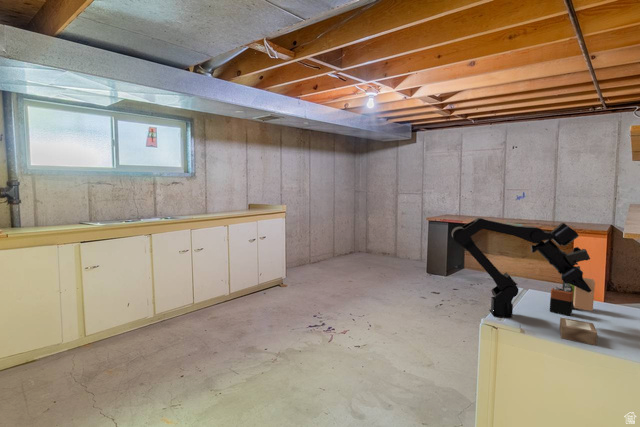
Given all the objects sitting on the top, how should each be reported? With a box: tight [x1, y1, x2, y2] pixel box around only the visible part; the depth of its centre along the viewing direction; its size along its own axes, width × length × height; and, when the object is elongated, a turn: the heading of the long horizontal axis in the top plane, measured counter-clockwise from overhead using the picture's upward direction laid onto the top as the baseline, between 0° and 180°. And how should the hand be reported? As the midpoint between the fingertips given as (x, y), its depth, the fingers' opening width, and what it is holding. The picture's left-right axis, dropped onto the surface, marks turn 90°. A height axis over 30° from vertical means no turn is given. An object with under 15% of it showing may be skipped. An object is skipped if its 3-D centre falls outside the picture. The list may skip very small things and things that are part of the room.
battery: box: [549, 286, 574, 317], centre depth 135 cm, size 4×7×10 cm, turn 47°
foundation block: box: [559, 317, 598, 346], centre depth 114 cm, size 9×9×4 cm
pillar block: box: [573, 277, 596, 311], centre depth 121 cm, size 5×5×10 cm
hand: (589, 289), depth 120 cm, fingers closed on pillar block, 5 cm apart
